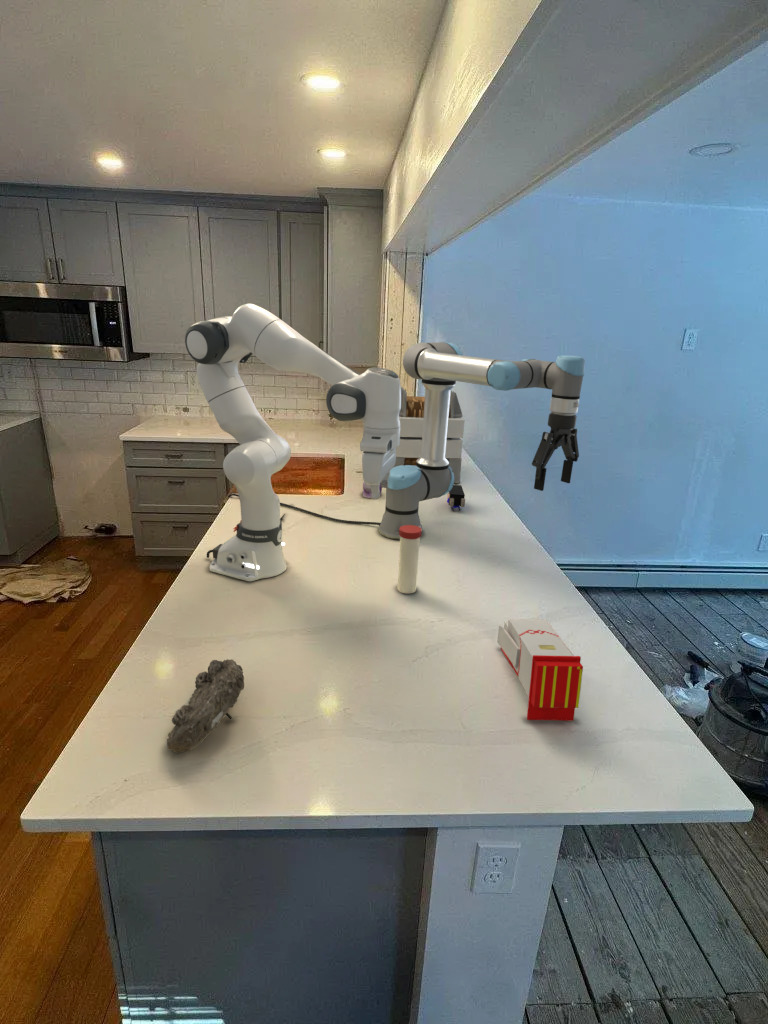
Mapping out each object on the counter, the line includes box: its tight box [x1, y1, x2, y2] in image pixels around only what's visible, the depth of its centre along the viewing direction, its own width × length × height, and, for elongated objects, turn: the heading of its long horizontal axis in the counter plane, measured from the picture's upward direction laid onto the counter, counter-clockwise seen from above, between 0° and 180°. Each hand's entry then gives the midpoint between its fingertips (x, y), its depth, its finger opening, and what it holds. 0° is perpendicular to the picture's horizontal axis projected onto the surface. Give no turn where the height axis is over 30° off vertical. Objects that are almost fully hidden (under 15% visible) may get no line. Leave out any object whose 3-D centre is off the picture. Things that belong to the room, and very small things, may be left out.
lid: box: [399, 525, 423, 539], centre depth 155 cm, size 6×6×2 cm
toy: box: [497, 618, 584, 722], centre depth 122 cm, size 12×13×30 cm
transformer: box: [393, 386, 465, 484], centre depth 268 cm, size 34×33×41 cm
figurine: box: [361, 482, 383, 499], centre depth 237 cm, size 9×10×15 cm
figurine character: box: [446, 484, 466, 511], centre depth 229 cm, size 7×8×15 cm
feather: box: [280, 513, 286, 523], centre depth 210 cm, size 2×28×2 cm
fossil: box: [166, 658, 245, 754], centre depth 106 cm, size 22×10×15 cm
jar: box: [397, 536, 421, 594], centre depth 158 cm, size 5×5×18 cm
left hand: (380, 492), depth 141 cm, fingers open, 8 cm apart
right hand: (552, 485), depth 166 cm, fingers open, 13 cm apart
